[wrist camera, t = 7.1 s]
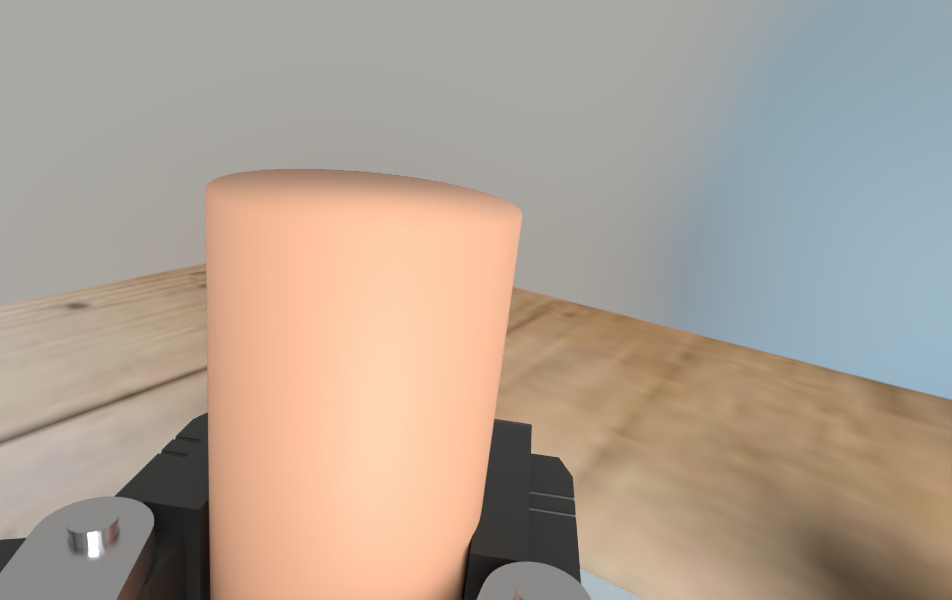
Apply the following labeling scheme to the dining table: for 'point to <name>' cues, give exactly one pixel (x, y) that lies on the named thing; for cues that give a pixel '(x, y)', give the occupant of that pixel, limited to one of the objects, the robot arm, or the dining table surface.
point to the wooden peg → (351, 380)
